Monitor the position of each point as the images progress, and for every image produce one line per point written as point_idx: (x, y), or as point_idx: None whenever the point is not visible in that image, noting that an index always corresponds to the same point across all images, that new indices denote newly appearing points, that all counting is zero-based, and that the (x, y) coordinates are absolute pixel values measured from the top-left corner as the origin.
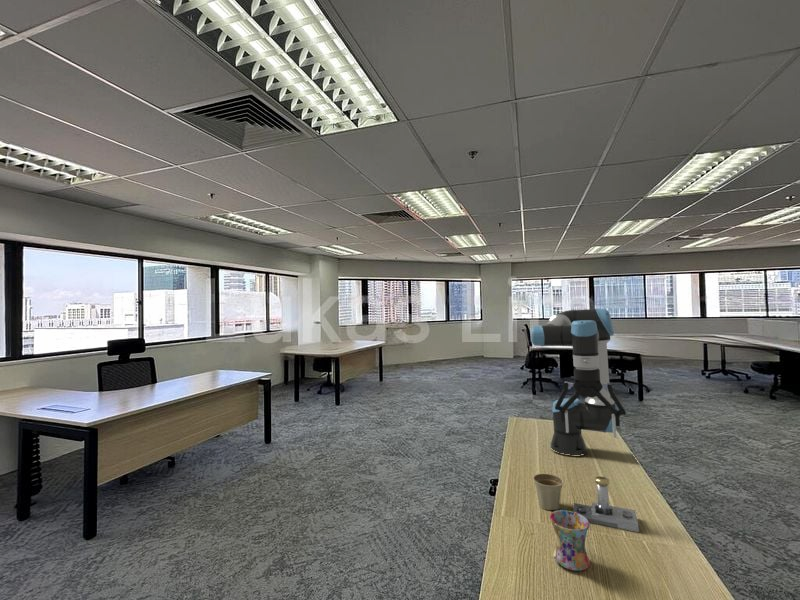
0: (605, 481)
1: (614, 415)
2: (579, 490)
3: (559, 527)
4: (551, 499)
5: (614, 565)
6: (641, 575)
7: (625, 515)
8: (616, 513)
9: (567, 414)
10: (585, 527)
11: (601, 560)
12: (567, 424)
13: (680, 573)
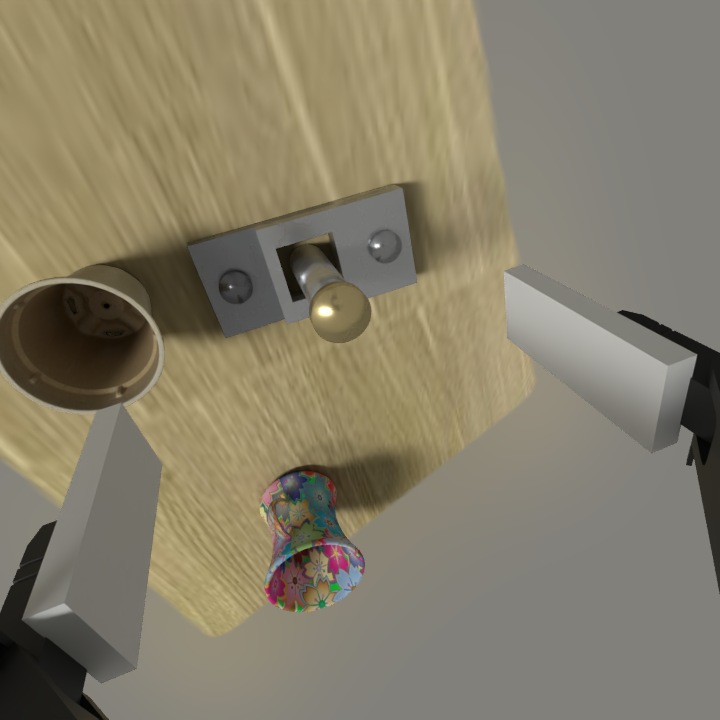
0: (359, 328)
1: (681, 407)
2: (125, 41)
3: (307, 609)
4: (136, 356)
5: (373, 445)
6: (421, 437)
7: (381, 262)
8: (352, 259)
9: (125, 622)
10: (350, 550)
11: (348, 449)
12: (148, 530)
13: (485, 381)
